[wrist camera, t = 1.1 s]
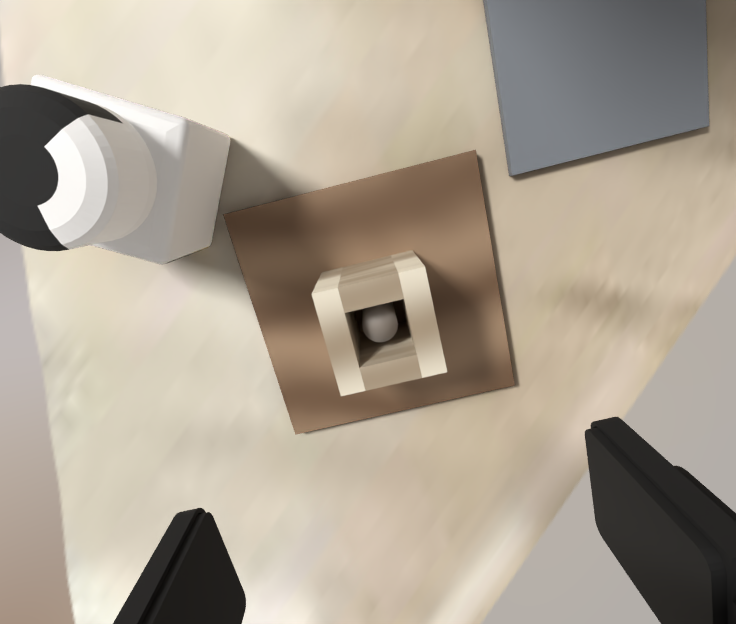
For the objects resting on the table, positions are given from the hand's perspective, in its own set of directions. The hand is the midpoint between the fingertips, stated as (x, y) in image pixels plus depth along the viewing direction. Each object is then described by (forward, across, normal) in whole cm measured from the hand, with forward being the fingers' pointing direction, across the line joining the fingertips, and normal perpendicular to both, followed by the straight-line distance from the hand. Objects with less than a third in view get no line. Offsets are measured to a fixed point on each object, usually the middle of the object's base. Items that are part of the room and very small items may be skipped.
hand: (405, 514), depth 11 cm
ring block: (+19, 0, 0) cm, 19 cm away
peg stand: (+20, 0, 0) cm, 20 cm away
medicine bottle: (+20, +11, -11) cm, 26 cm away
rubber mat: (+20, -16, -15) cm, 30 cm away
